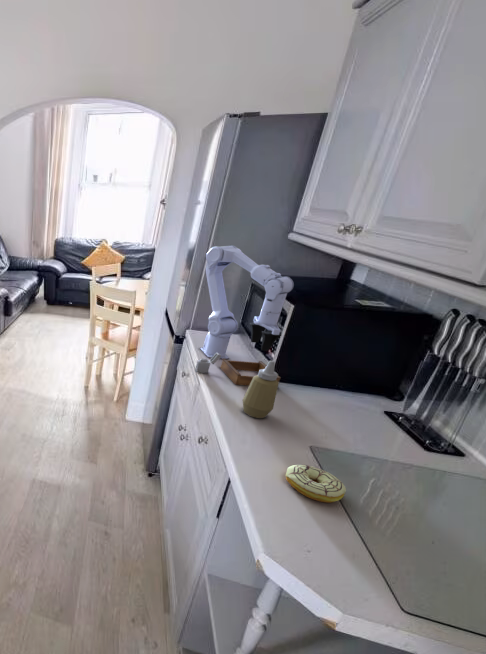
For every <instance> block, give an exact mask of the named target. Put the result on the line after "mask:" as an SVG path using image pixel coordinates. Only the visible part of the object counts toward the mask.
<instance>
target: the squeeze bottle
mask: <svg viewBox="0 0 486 654" xmlns="http://www.w3.org/2000/svg"><path fill="white" fill-rule="evenodd" d="M275 365H276V362H275V360H269V362H268V363H267V366H266V368H265V369H261V370H259V373H258V372H257V375H253V376H254V377H253V379H252V381H251V383H250V385H249V386H248V388H247V390H246V391H245V394H244V396H243V398H242V407H243V408H242V409H243V412H244V414H246V415H248V416H249V417H253V418H254V419H255V418H257V419H264V418H266V417H267V416H268V415H269V414H270V413H271V412H272V410H274V406H275V402H276V398H277V392H278V389H279V384H280V381H279V382H278V381H277V380H276V379H277V376H279V374H278V373H277V372H276V371H275V367H276V366H275Z"/></svg>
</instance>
